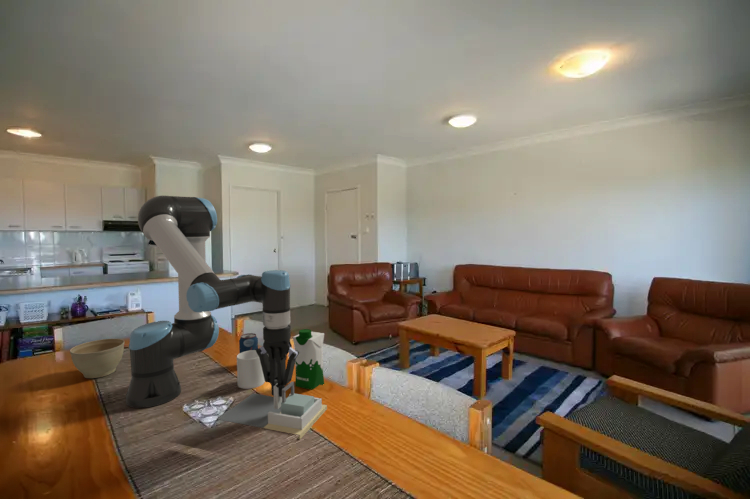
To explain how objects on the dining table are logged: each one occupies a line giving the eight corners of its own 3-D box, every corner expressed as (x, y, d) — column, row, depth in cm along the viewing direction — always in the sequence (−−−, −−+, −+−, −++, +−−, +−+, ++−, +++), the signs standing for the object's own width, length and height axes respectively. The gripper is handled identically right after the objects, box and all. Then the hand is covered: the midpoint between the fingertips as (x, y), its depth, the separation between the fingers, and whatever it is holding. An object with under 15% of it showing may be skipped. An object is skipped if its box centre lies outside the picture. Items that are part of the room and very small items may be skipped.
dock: (217, 423, 101) (216, 408, 101) (253, 397, 116) (252, 384, 116) (300, 439, 93) (299, 423, 93) (327, 409, 108) (326, 395, 108)
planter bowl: (61, 379, 131) (59, 349, 131) (108, 363, 146) (107, 336, 146) (89, 386, 125) (87, 355, 125) (135, 368, 140) (134, 341, 140)
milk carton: (291, 389, 121) (289, 331, 120) (307, 379, 129) (306, 324, 128) (313, 394, 117) (311, 334, 116) (328, 383, 126) (327, 326, 124)
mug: (248, 394, 118) (247, 361, 117) (232, 388, 123) (231, 356, 122) (277, 381, 128) (276, 350, 127) (261, 375, 133) (260, 345, 132)
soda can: (255, 368, 139) (254, 338, 138) (237, 368, 139) (236, 338, 138) (261, 361, 146) (260, 332, 145) (244, 361, 146) (242, 332, 145)
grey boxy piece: (281, 420, 100) (280, 390, 99) (292, 409, 106) (292, 380, 105) (304, 424, 98) (303, 393, 97) (314, 413, 103) (313, 384, 103)
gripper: (249, 327, 101) (251, 409, 102) (289, 331, 97) (291, 416, 98) (265, 320, 108) (267, 397, 109) (303, 323, 104) (304, 403, 105)
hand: (278, 406), depth 104 cm, fingers closed
